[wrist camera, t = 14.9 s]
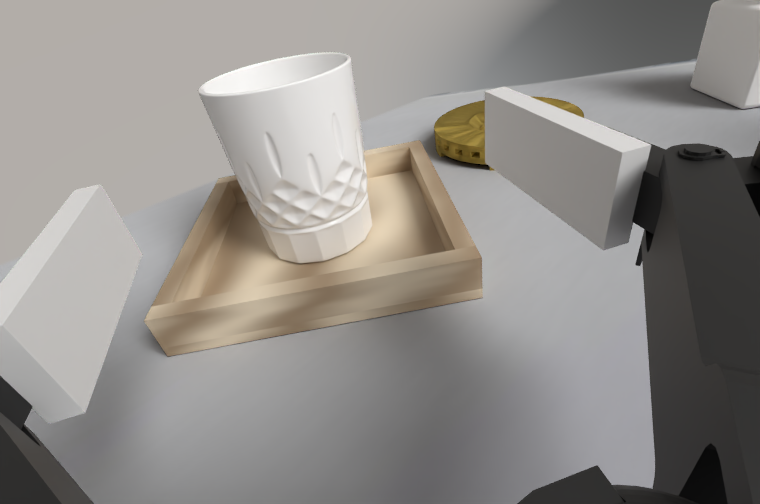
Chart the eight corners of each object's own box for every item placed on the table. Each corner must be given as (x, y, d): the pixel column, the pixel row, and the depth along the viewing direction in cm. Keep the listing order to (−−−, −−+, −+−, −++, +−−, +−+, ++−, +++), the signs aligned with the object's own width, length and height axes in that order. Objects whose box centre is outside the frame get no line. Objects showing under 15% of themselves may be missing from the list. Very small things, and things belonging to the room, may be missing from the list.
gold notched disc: (608, 131, 35) (613, 105, 34) (524, 187, 30) (525, 159, 28) (491, 113, 43) (491, 91, 42) (408, 154, 38) (405, 131, 36)
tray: (167, 356, 21) (143, 320, 19) (230, 206, 34) (218, 178, 33) (482, 297, 21) (481, 257, 19) (422, 169, 34) (419, 140, 32)
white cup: (357, 192, 31) (326, 46, 25) (401, 241, 25) (374, 62, 19) (253, 226, 29) (195, 77, 24) (273, 288, 23) (200, 106, 17)
